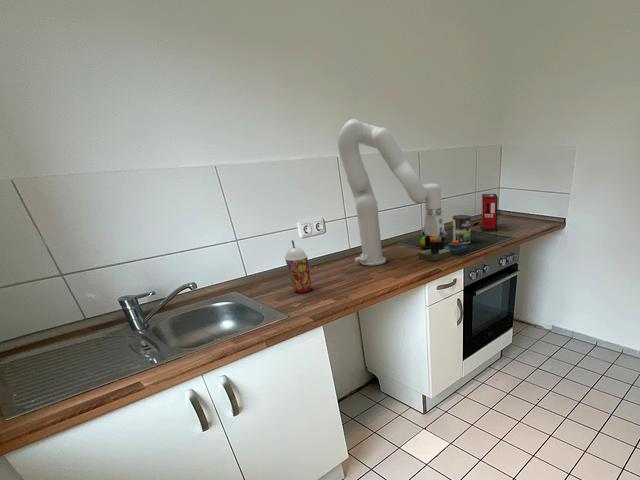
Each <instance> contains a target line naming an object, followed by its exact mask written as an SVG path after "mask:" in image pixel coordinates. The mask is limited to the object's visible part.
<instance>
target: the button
mask: <svg viewBox="0 0 640 480" xmlns="http://www.w3.org/2000/svg"><path fill="white" fill-rule="evenodd" d="M451 243H452V244H453V245H458V244H459V241H458V240H453V239H452V240H451Z"/></svg>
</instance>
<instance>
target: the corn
mask: <svg viewBox="0 0 640 480" xmlns="http://www.w3.org/2000/svg"><path fill="white" fill-rule="evenodd" d="M429 238H430V241H431V240H437V241H438V242H439V240H438V238H437V237H432V236H430V237H429ZM440 238H441V237H440ZM419 244H420V246H421V247H422V248H423V249H431V245H430V246H428V247H425V239H424V236H423V235H422V236H421V237H420V238H419ZM430 244H431V242H430Z"/></svg>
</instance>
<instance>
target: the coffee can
mask: <svg viewBox="0 0 640 480" xmlns="http://www.w3.org/2000/svg"><path fill="white" fill-rule="evenodd" d="M471 222H472V216H471V215H468V214H458V215H453V216H452V241H453V240H458V241H459V243H461V244H462V245H468V244H470V243H471V241H472V240H471V235H472V233H471V228H472V227H471V226H472V225H471V224H472V223H471Z"/></svg>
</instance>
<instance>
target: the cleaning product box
mask: <svg viewBox="0 0 640 480" xmlns="http://www.w3.org/2000/svg"><path fill="white" fill-rule="evenodd" d="M498 201H499V196H498V194H497V193H482V194H481V231H482V232H497V229H498V228H497V226H498V203H499V202H498Z"/></svg>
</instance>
